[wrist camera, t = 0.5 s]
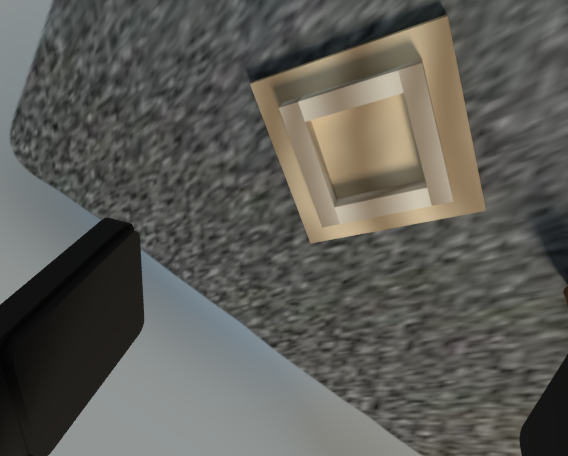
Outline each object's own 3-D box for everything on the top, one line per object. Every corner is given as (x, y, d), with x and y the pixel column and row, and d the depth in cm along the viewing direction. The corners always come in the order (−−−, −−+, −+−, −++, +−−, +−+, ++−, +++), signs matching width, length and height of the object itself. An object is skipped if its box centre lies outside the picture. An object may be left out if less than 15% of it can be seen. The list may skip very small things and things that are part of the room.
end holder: (446, 14, 30) (448, 19, 28) (484, 204, 36) (488, 220, 34) (254, 80, 35) (243, 89, 33) (312, 237, 41) (307, 252, 39)
